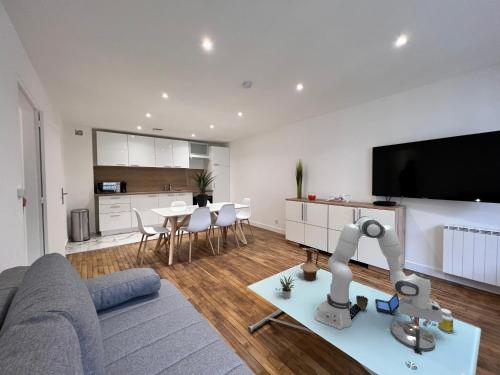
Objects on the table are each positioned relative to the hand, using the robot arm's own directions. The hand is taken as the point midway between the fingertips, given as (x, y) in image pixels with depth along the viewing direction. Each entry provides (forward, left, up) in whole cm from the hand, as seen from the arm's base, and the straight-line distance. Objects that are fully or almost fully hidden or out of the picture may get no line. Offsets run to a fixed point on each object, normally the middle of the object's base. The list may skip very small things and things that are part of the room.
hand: (419, 324), depth 123 cm
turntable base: (-5, -6, -5) cm, 10 cm away
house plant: (-80, +7, -5) cm, 80 cm away
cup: (-29, +12, -5) cm, 32 cm away
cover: (-5, -6, -2) cm, 8 cm away
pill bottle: (+15, +9, -5) cm, 18 cm away
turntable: (-5, -7, -3) cm, 9 cm away
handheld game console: (-13, +19, -5) cm, 24 cm away
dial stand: (-5, -15, -5) cm, 17 cm away
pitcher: (-69, +44, -5) cm, 82 cm away
